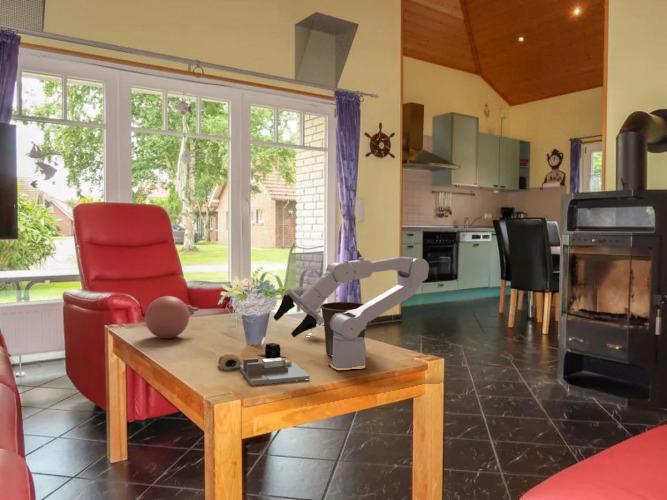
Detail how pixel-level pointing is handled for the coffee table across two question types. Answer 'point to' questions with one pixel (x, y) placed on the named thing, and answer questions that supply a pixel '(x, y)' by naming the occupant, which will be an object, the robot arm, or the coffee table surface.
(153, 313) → the balloon
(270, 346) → the black block
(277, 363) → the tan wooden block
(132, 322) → the coffee table surface
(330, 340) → the plant pot
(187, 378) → the coffee table surface
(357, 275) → the robot arm
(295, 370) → the door board
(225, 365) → the pastry
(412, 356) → the coffee table surface
